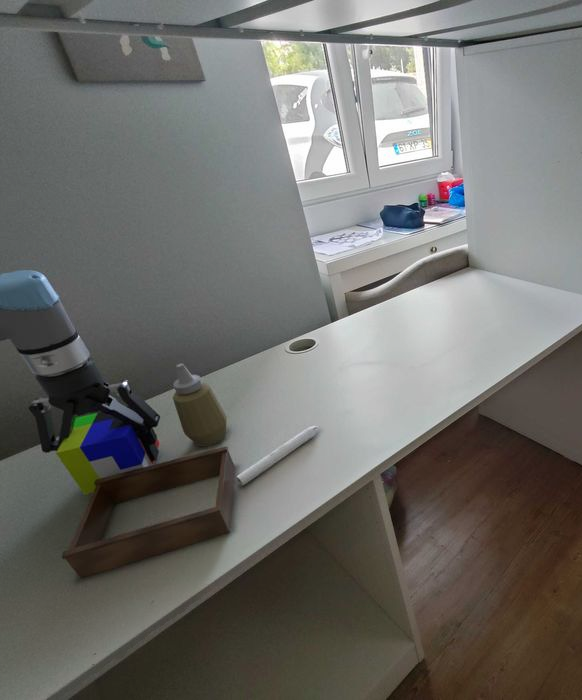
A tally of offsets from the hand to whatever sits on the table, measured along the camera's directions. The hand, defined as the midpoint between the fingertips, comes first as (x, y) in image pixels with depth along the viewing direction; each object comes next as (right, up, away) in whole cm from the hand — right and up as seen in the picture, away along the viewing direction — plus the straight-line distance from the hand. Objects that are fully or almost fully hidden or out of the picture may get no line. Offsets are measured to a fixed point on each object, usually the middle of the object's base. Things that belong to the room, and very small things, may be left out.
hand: (122, 464), depth 84 cm
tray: (+14, -7, -8) cm, 17 cm away
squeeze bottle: (+11, +3, +10) cm, 15 cm away
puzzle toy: (0, -1, +1) cm, 1 cm away
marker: (+29, +1, +4) cm, 29 cm away
